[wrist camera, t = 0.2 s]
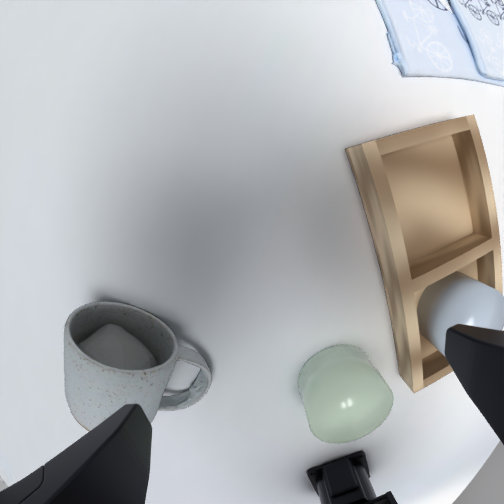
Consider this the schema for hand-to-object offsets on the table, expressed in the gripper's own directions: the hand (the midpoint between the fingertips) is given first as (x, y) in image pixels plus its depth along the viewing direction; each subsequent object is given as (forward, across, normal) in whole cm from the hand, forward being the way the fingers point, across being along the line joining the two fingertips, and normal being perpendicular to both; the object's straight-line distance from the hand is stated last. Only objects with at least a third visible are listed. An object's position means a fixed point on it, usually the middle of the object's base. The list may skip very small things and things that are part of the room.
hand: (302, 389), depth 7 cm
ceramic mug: (+14, +10, +5) cm, 19 cm away
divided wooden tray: (+14, -14, +3) cm, 20 cm away
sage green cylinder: (+14, -4, +11) cm, 19 cm away
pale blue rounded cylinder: (+14, -14, +7) cm, 21 cm away
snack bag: (+15, -23, -21) cm, 34 cm away
